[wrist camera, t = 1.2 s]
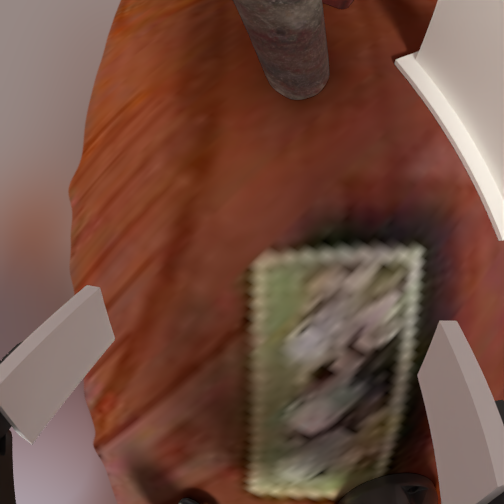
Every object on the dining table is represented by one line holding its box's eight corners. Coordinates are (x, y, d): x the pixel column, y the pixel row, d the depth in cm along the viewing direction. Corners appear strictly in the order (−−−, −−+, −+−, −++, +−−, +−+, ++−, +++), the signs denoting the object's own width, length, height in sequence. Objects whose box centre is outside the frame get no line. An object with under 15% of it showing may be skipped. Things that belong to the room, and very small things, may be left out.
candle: (253, 73, 32) (190, -49, 13) (298, 42, 31) (267, -85, 12) (295, 112, 31) (257, -22, 12) (342, 77, 30) (343, -59, 11)
